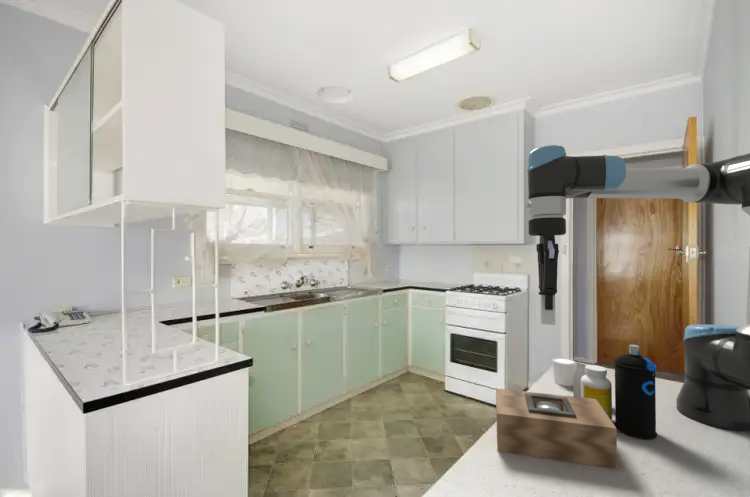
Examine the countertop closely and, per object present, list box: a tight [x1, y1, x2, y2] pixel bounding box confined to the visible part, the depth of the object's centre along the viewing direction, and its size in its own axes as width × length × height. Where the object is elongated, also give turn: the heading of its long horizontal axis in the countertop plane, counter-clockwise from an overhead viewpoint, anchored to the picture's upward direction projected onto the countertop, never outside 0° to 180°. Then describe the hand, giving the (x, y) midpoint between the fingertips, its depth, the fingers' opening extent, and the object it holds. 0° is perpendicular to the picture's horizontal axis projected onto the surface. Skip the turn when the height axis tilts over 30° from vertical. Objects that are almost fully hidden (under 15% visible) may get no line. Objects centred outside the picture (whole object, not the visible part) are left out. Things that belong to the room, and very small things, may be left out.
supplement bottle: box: [581, 364, 613, 422], centre depth 90 cm, size 7×7×13 cm
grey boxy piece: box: [572, 361, 587, 397], centre depth 100 cm, size 4×7×10 cm, turn 30°
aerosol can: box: [613, 344, 658, 441], centre depth 84 cm, size 8×8×20 cm
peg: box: [536, 401, 561, 411], centre depth 79 cm, size 5×5×8 cm
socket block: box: [495, 388, 618, 470], centre depth 79 cm, size 22×14×9 cm, turn 72°
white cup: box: [551, 357, 577, 387], centre depth 113 cm, size 7×7×7 cm
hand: (547, 323), depth 79 cm, fingers closed
